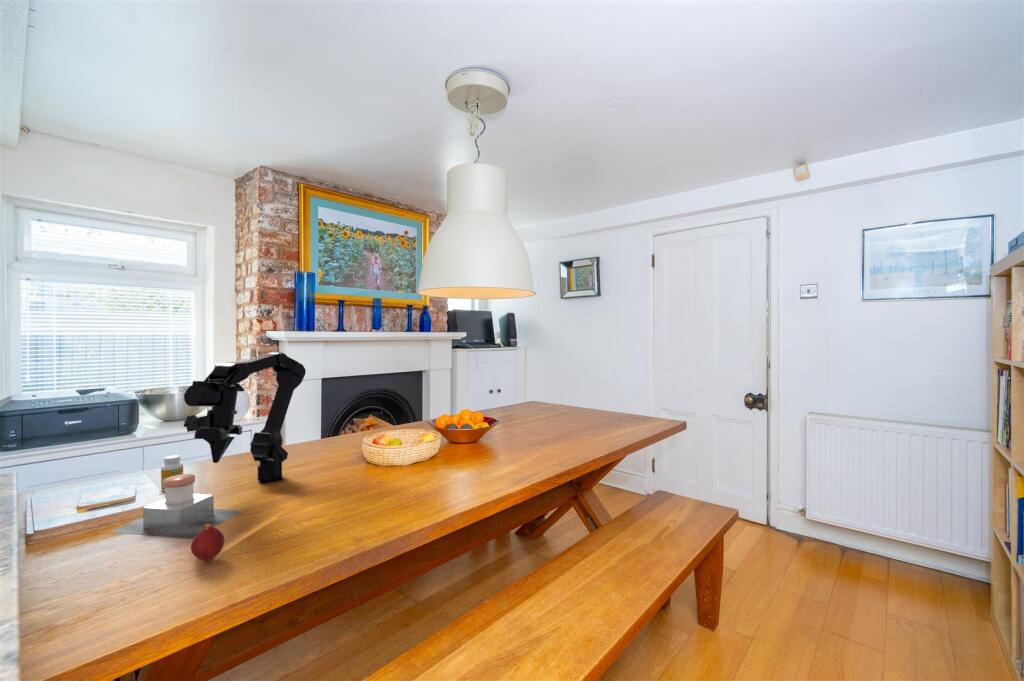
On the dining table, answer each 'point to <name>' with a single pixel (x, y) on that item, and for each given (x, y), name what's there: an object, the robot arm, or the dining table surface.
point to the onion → (207, 543)
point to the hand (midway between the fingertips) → (215, 462)
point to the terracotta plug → (179, 489)
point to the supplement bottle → (171, 468)
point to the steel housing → (178, 513)
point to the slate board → (186, 533)
